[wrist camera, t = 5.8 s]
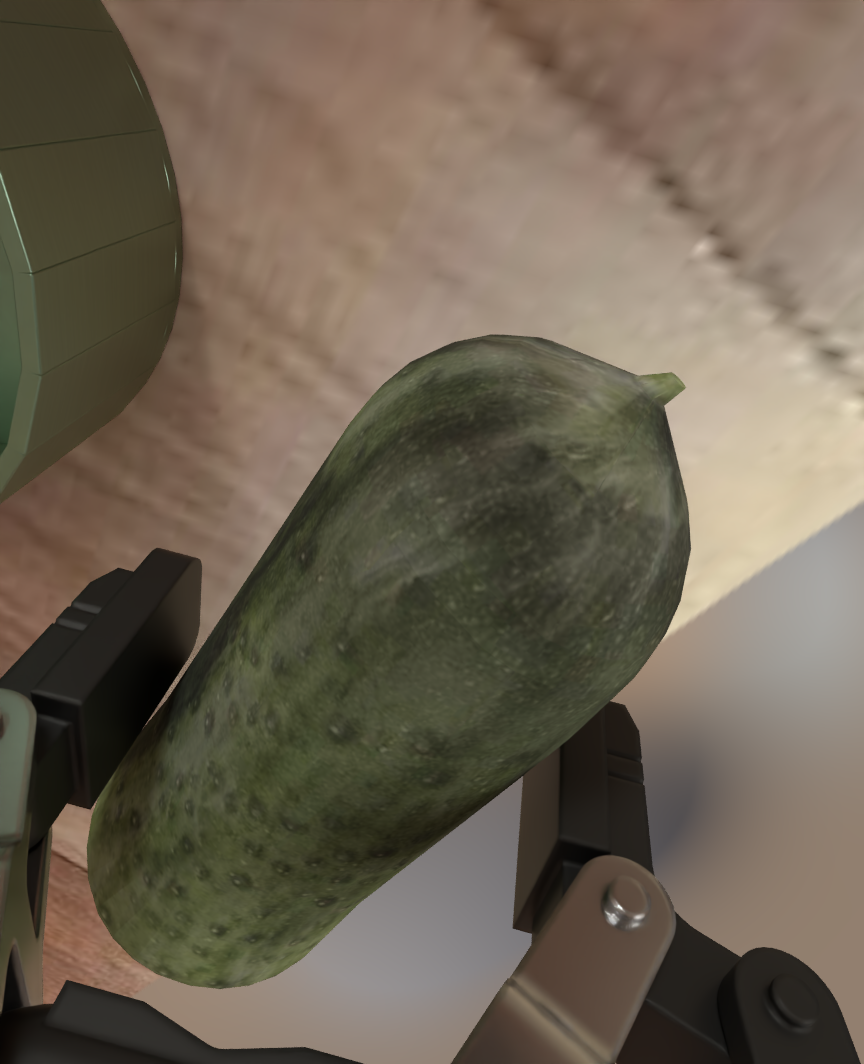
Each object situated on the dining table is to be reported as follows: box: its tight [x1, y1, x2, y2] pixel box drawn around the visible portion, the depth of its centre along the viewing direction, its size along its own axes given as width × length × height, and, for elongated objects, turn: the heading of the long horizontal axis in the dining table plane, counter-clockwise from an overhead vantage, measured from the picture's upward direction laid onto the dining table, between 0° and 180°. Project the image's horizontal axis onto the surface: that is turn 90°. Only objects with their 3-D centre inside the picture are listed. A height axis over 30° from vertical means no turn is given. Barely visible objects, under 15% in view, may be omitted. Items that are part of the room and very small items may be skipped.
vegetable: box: [87, 335, 691, 989], centre depth 12 cm, size 14×5×5 cm, turn 147°
